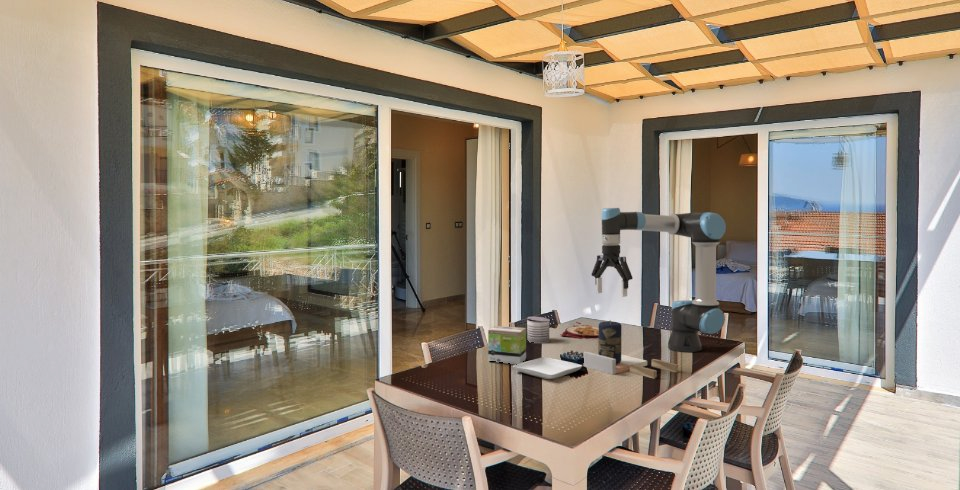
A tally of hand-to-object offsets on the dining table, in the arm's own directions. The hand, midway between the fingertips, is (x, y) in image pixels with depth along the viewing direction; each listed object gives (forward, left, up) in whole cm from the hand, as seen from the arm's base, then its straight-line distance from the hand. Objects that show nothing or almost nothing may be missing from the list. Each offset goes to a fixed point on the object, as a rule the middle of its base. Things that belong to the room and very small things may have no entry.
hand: (611, 294), depth 242 cm
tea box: (+29, -34, -31) cm, 55 cm away
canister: (+2, +1, -29) cm, 29 cm away
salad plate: (+27, -10, -31) cm, 43 cm away
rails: (-7, +17, -31) cm, 36 cm away
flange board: (-2, +1, -31) cm, 31 cm away
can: (-8, -55, -31) cm, 64 cm away
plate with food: (-40, -51, -32) cm, 72 cm away
